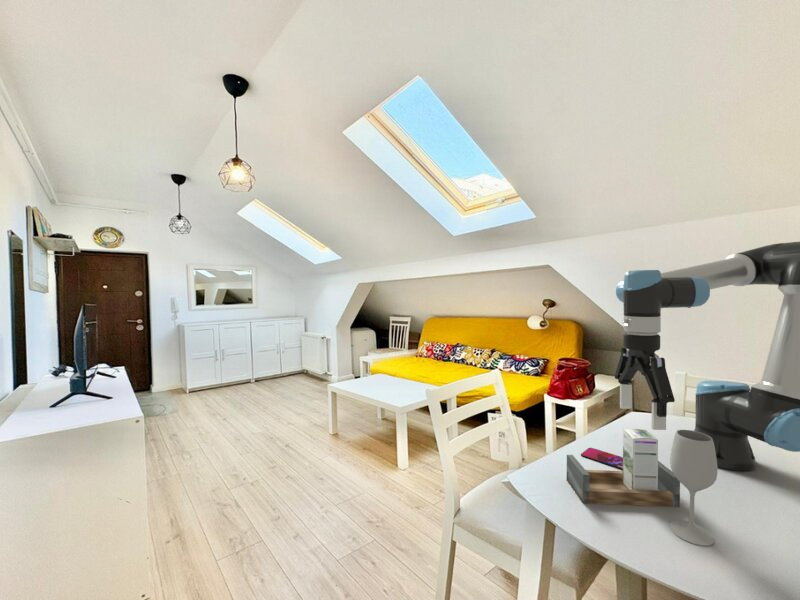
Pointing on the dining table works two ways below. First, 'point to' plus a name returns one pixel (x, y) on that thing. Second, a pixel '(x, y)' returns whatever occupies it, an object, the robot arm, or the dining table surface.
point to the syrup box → (640, 460)
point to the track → (620, 487)
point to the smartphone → (603, 458)
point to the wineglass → (693, 478)
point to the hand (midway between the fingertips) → (641, 418)
